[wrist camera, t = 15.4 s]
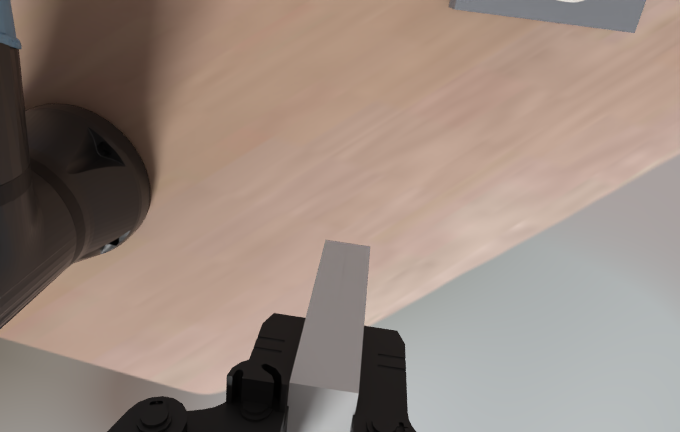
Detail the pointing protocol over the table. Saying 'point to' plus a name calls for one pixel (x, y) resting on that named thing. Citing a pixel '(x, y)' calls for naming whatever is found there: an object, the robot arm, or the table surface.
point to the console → (563, 11)
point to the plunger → (570, 0)
